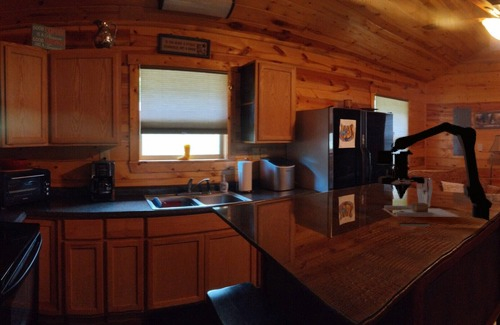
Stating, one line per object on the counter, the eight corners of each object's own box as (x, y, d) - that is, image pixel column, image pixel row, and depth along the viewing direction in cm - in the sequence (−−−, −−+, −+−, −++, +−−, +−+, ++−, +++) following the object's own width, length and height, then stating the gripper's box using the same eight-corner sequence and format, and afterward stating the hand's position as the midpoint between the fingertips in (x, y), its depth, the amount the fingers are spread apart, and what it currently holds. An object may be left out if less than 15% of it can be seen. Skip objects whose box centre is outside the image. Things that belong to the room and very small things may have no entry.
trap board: (460, 220, 138) (460, 213, 138) (394, 219, 140) (394, 212, 140) (439, 211, 155) (440, 205, 155) (382, 211, 157) (382, 205, 157)
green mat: (429, 226, 129) (429, 224, 128) (400, 226, 129) (400, 224, 129) (417, 219, 139) (417, 218, 139) (391, 219, 140) (391, 217, 140)
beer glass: (428, 207, 166) (428, 178, 165) (434, 210, 159) (435, 179, 158) (414, 207, 167) (414, 178, 166) (419, 209, 160) (420, 179, 159)
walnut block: (427, 213, 145) (428, 204, 145) (416, 213, 145) (416, 204, 145) (422, 211, 150) (423, 202, 150) (411, 211, 150) (411, 202, 150)
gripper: (414, 163, 154) (414, 195, 155) (374, 163, 156) (374, 196, 157) (425, 164, 143) (425, 199, 144) (382, 165, 145) (382, 200, 145)
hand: (400, 198), depth 148 cm, fingers closed
